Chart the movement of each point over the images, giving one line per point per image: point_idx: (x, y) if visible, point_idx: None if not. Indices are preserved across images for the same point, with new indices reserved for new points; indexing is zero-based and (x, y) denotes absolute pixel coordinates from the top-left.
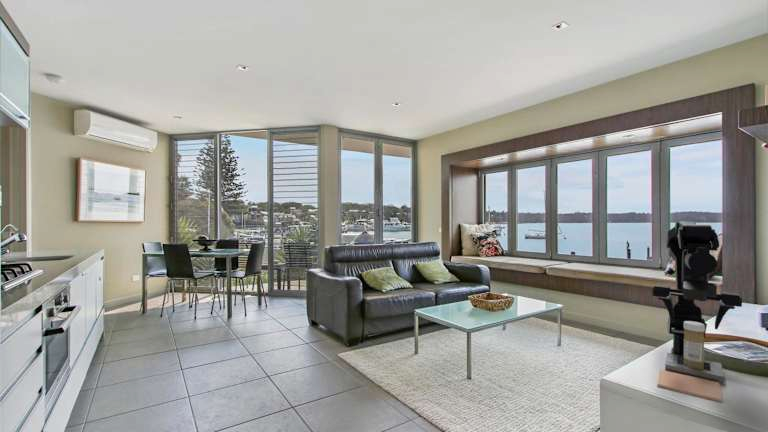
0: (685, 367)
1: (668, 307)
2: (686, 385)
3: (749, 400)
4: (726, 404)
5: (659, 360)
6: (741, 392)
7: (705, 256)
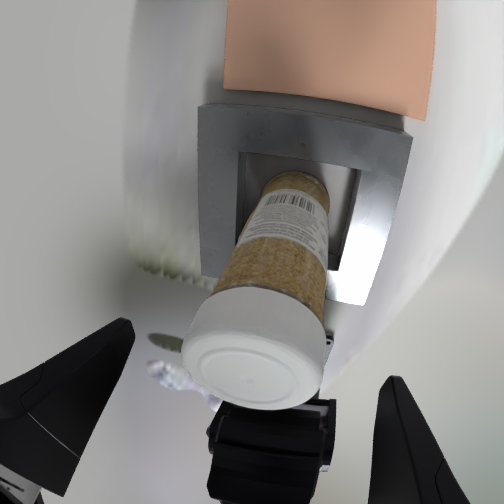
0: (334, 136)
1: (446, 490)
2: None
3: (158, 6)
4: None
5: (393, 261)
6: (168, 63)
7: None
